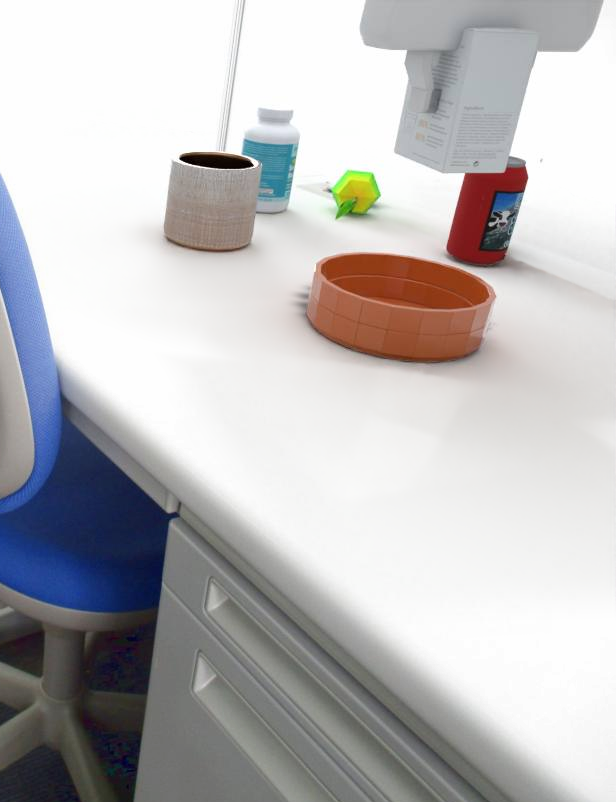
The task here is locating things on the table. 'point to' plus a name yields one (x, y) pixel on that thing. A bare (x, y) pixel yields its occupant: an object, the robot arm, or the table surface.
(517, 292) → the table surface
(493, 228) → the beverage can
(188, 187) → the planter
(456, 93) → the small box
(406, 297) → the pan
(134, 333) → the table surface
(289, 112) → the pill bottle
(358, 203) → the apple
